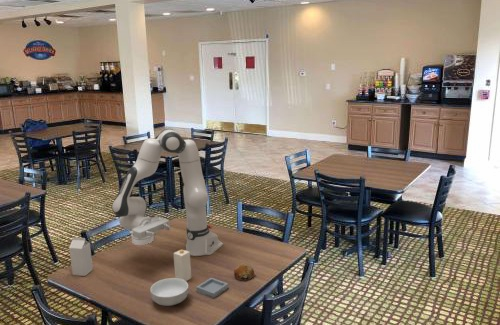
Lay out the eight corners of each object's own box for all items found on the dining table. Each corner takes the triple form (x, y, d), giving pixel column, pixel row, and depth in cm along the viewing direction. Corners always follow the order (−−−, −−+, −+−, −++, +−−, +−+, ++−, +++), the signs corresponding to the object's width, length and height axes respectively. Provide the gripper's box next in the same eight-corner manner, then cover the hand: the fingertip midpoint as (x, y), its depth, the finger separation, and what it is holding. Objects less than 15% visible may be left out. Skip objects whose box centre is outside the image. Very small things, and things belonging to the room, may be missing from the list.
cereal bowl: (188, 310, 182) (187, 295, 180) (148, 313, 181) (147, 298, 179) (190, 290, 198) (189, 276, 197) (154, 292, 197) (153, 278, 196)
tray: (211, 282, 205) (211, 277, 204) (228, 288, 199) (228, 283, 198) (196, 291, 197) (196, 286, 196) (213, 298, 191) (213, 293, 190)
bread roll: (255, 281, 212) (257, 264, 214) (249, 282, 203) (251, 265, 204) (237, 278, 215) (239, 262, 217) (230, 279, 206) (232, 262, 207)
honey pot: (127, 243, 252) (124, 214, 248) (140, 235, 264) (137, 207, 260) (145, 246, 248) (143, 217, 244) (158, 237, 259) (155, 209, 255)
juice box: (183, 275, 212) (181, 246, 209) (191, 278, 209) (189, 249, 206) (175, 279, 208) (173, 250, 205) (183, 282, 205) (181, 253, 202)
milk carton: (85, 276, 214) (80, 241, 209) (72, 275, 215) (68, 240, 211) (93, 269, 221) (89, 235, 216) (80, 268, 222) (76, 234, 218)
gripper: (126, 226, 211) (145, 232, 203) (157, 214, 227) (176, 219, 219) (127, 238, 212) (146, 244, 204) (158, 225, 228) (176, 230, 220)
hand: (161, 231), depth 211 cm, fingers open, 8 cm apart
